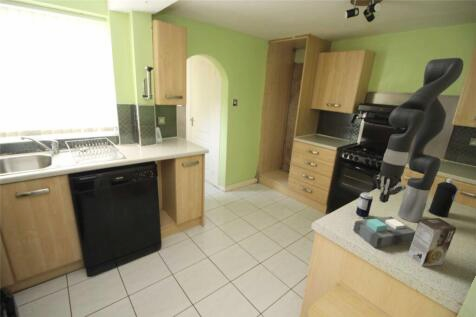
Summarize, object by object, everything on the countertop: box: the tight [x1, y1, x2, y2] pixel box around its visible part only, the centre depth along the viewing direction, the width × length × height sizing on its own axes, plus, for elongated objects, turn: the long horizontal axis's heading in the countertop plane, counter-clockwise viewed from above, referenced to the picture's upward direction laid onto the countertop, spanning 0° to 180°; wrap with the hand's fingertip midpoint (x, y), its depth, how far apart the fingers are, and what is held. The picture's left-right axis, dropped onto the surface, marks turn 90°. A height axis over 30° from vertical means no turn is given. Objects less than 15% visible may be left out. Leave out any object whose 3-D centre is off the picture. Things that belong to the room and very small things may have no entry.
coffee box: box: [407, 217, 457, 267], centre depth 83 cm, size 9×6×16 cm
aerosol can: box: [427, 178, 459, 218], centre depth 118 cm, size 8×8×20 cm
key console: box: [352, 216, 416, 249], centre depth 98 cm, size 21×12×5 cm, turn 106°
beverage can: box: [355, 191, 374, 219], centre depth 113 cm, size 6×6×12 cm
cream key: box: [385, 218, 406, 229], centre depth 99 cm, size 5×5×4 cm
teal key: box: [366, 218, 387, 232], centre depth 96 cm, size 5×5×4 cm
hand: (382, 201), depth 92 cm, fingers closed
